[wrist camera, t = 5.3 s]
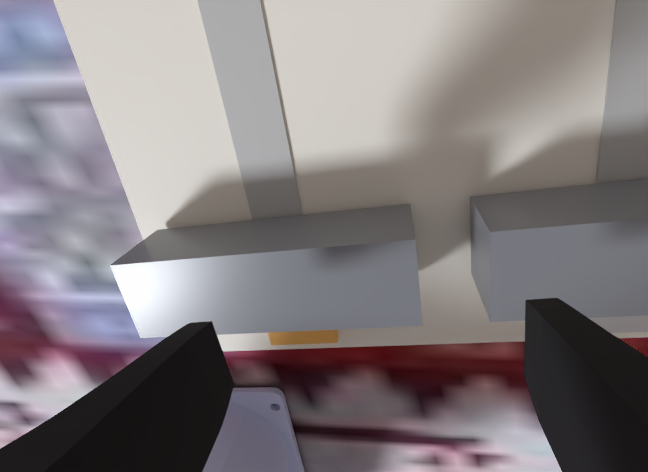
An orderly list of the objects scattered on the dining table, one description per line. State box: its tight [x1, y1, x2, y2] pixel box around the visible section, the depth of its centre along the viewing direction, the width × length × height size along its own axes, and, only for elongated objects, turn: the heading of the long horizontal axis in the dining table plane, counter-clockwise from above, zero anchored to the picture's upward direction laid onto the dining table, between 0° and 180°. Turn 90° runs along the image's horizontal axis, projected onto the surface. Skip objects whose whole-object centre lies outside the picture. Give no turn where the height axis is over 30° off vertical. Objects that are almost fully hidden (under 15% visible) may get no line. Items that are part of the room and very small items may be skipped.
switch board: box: [53, 0, 648, 351], centre depth 13 cm, size 18×24×1 cm
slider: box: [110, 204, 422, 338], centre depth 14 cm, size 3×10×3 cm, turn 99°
